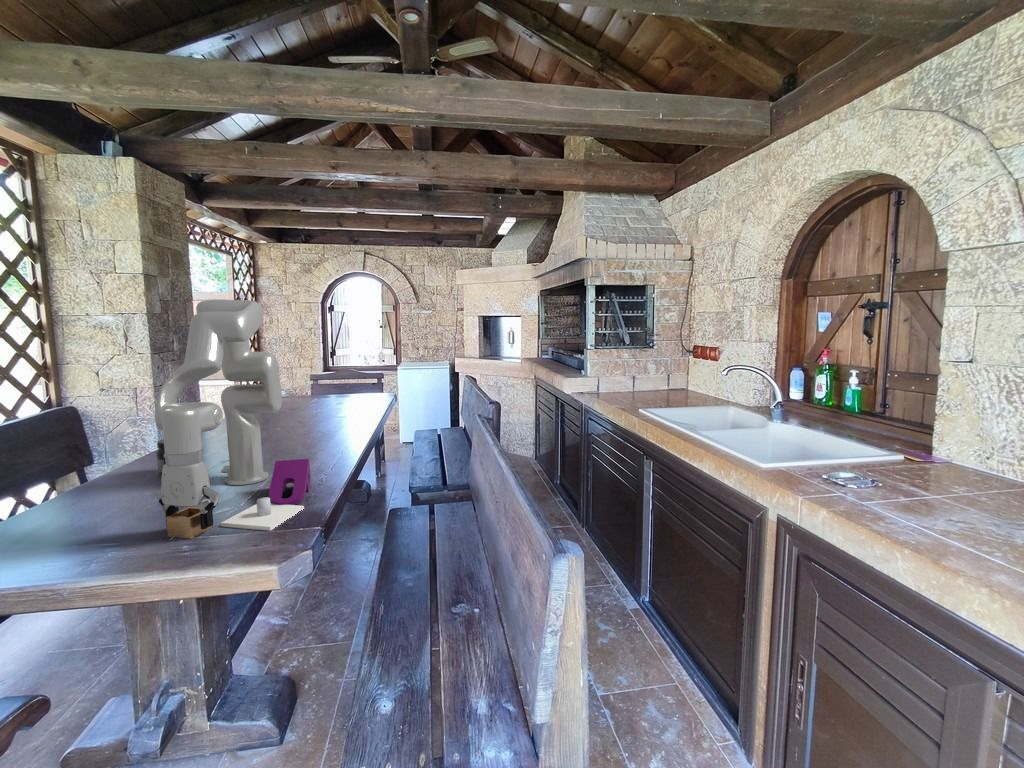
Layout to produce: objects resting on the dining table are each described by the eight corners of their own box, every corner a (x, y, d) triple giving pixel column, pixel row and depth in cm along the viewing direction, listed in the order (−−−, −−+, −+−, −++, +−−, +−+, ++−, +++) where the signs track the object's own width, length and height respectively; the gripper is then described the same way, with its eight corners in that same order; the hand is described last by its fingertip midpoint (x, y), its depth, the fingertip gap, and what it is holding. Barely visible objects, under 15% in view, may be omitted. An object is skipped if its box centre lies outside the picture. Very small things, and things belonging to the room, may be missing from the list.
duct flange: (221, 526, 121) (219, 507, 121) (259, 505, 135) (258, 488, 134) (270, 530, 119) (269, 511, 118) (304, 509, 132) (303, 492, 132)
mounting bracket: (306, 521, 139) (311, 478, 153) (302, 501, 134) (308, 458, 149) (270, 525, 136) (279, 481, 151) (266, 504, 132) (275, 460, 146)
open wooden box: (168, 536, 116) (166, 516, 115) (190, 525, 122) (189, 506, 121) (191, 538, 114) (189, 518, 114) (213, 527, 121) (211, 508, 120)
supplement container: (202, 472, 166) (199, 438, 164) (169, 480, 157) (165, 445, 155) (184, 467, 171) (182, 435, 169) (151, 476, 162) (148, 441, 160)
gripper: (139, 460, 114) (146, 529, 116) (202, 464, 111) (208, 534, 113) (167, 452, 121) (173, 517, 123) (227, 455, 118) (232, 522, 120)
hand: (190, 525), depth 118 cm, fingers open, 9 cm apart
